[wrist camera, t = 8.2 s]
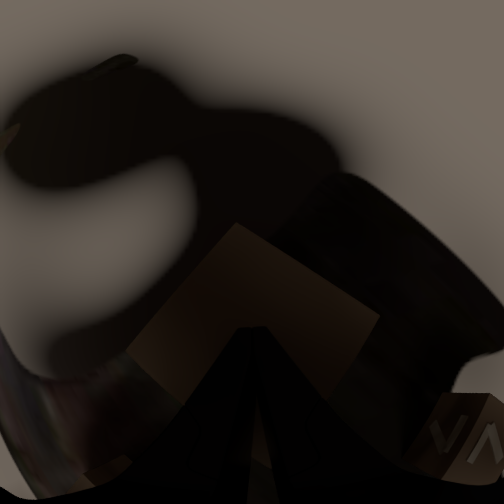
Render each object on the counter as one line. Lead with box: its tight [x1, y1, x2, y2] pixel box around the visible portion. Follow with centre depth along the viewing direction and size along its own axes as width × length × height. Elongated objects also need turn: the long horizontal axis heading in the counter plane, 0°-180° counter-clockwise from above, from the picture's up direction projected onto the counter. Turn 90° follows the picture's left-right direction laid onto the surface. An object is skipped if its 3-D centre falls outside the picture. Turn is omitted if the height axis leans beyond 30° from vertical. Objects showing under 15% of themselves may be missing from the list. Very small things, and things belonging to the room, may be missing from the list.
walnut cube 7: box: [402, 392, 504, 485], centre depth 10 cm, size 5×5×5 cm
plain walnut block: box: [125, 223, 380, 469], centre depth 12 cm, size 6×6×8 cm
